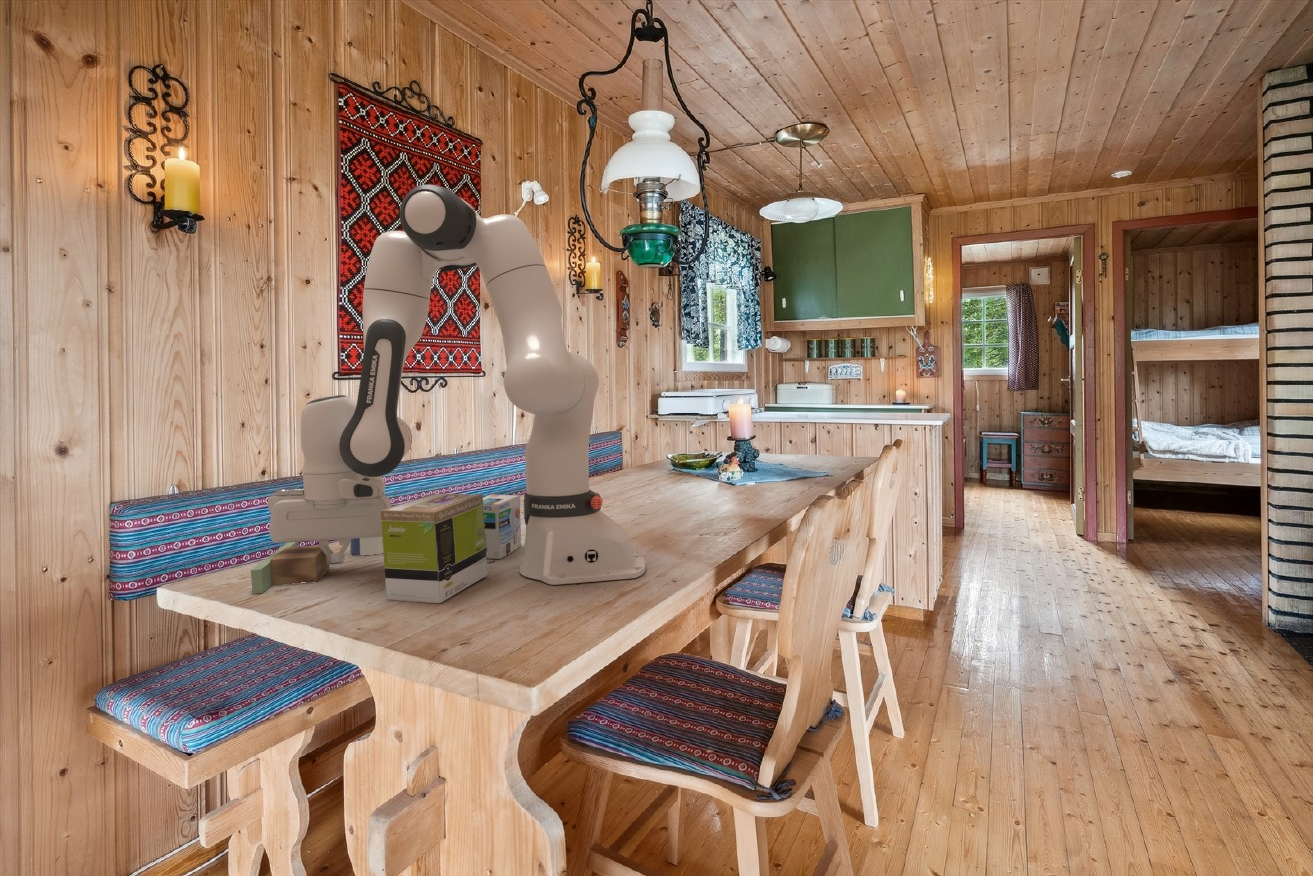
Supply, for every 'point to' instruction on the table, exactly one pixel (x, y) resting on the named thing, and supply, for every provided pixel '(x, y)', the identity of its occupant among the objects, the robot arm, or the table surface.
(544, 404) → the robot arm
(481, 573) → the tea box
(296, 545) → the green board
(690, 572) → the table surface
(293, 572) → the walnut block
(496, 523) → the light bulb box
